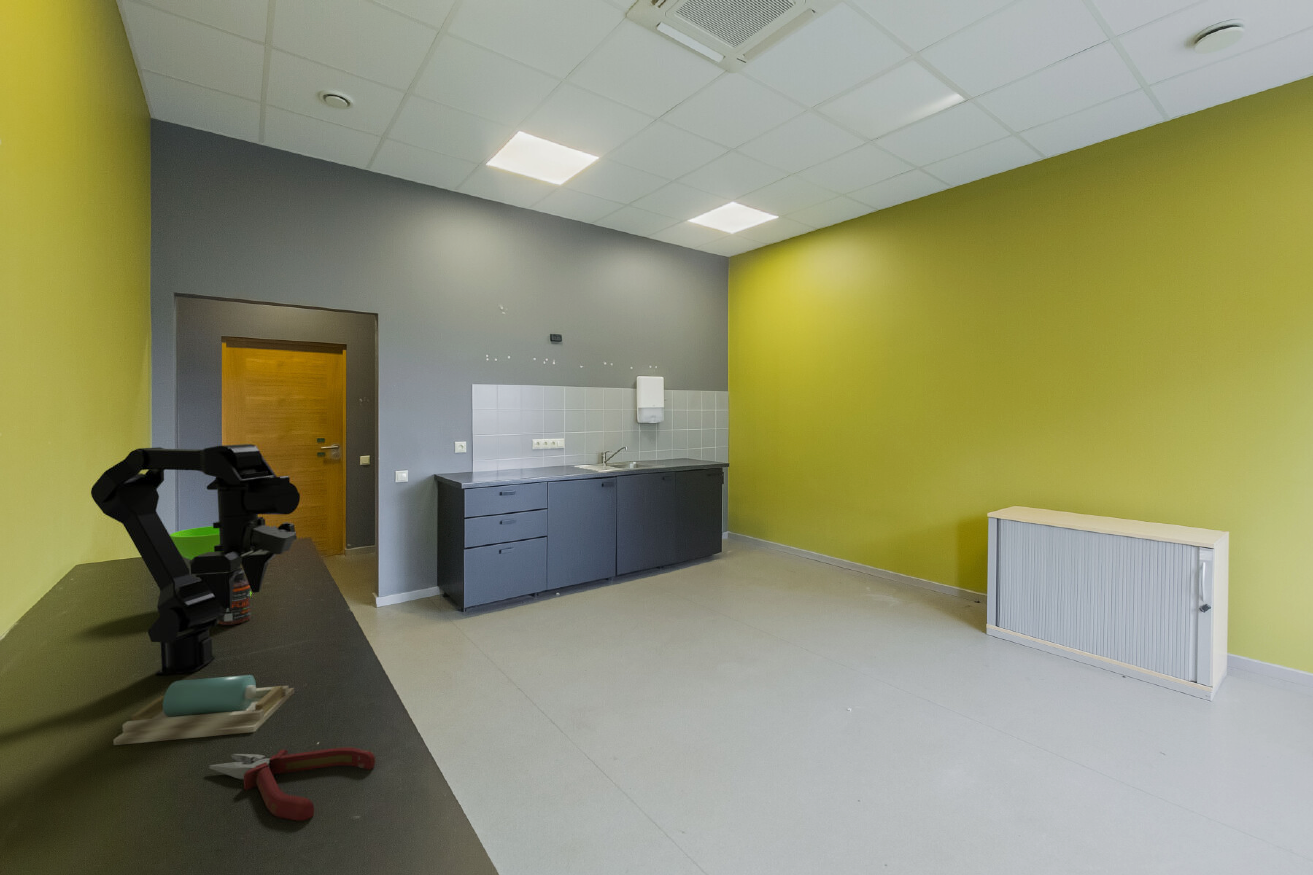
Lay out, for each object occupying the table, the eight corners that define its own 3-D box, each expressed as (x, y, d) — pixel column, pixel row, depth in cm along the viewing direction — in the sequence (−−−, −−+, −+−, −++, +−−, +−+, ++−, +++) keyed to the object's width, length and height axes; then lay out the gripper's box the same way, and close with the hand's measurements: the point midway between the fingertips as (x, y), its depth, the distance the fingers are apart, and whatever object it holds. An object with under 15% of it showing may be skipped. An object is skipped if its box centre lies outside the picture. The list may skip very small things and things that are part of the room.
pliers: (262, 745, 80) (261, 727, 79) (380, 767, 74) (379, 747, 74) (173, 798, 68) (171, 777, 68) (304, 829, 63) (302, 806, 63)
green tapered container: (220, 610, 137) (216, 536, 137) (155, 610, 137) (151, 537, 137) (266, 590, 153) (263, 524, 153) (208, 590, 153) (205, 525, 153)
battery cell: (163, 723, 83) (161, 690, 83) (186, 706, 88) (184, 674, 88) (244, 716, 85) (242, 683, 85) (262, 699, 90) (260, 668, 90)
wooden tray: (113, 745, 79) (112, 726, 79) (172, 702, 91) (172, 687, 91) (254, 731, 82) (253, 714, 82) (294, 692, 94) (293, 677, 94)
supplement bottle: (233, 627, 125) (231, 576, 125) (211, 625, 126) (209, 575, 126) (257, 617, 131) (255, 569, 131) (236, 616, 132) (234, 568, 132)
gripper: (259, 521, 94) (263, 613, 94) (310, 504, 112) (313, 582, 113) (184, 524, 92) (189, 618, 93) (248, 507, 111) (252, 586, 111)
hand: (242, 599), depth 102 cm, fingers open, 9 cm apart
